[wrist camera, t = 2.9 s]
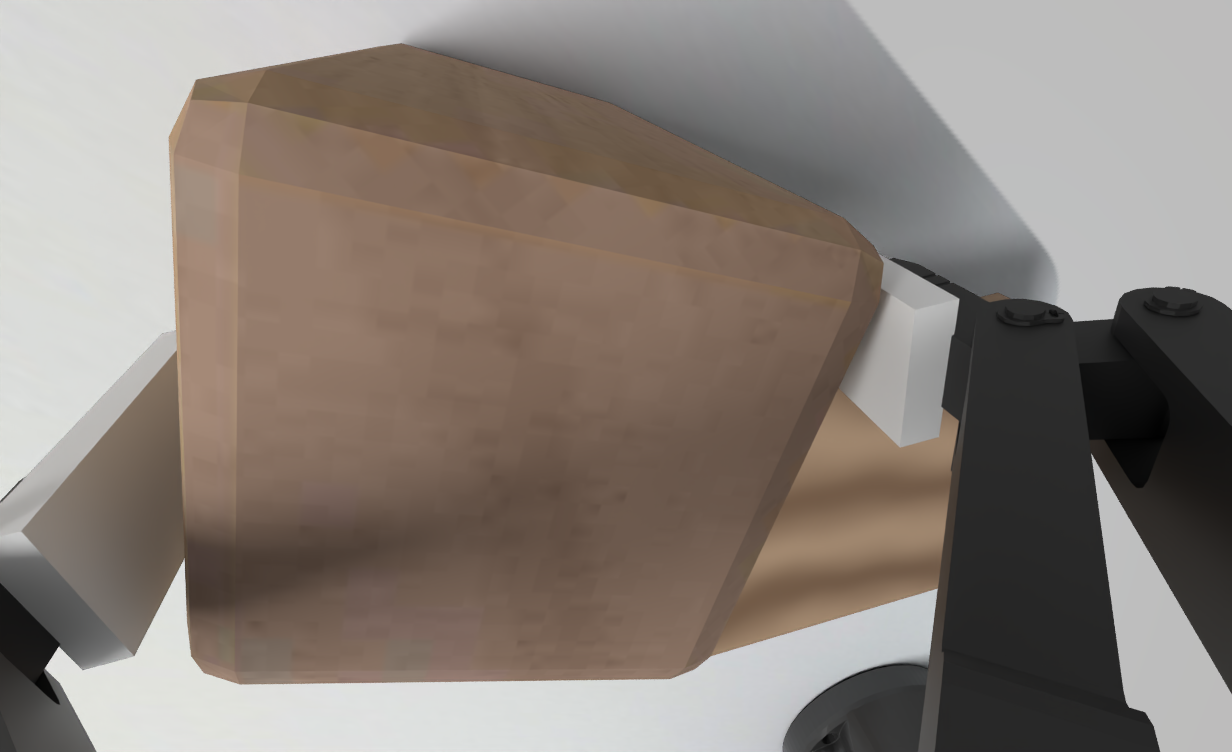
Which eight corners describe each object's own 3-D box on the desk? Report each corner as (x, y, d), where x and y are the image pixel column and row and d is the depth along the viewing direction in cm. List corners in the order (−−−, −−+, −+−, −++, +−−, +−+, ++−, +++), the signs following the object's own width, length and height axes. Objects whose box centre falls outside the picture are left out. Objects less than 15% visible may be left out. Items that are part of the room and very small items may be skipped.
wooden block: (628, 107, 26) (936, 250, 9) (572, 322, 30) (712, 699, 13) (375, 34, 23) (122, 45, 6) (352, 285, 27) (165, 713, 10)
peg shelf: (907, 512, 42) (968, 579, 37) (652, 584, 40) (679, 665, 35) (935, 262, 33) (1022, 304, 28) (607, 340, 31) (636, 401, 26)
